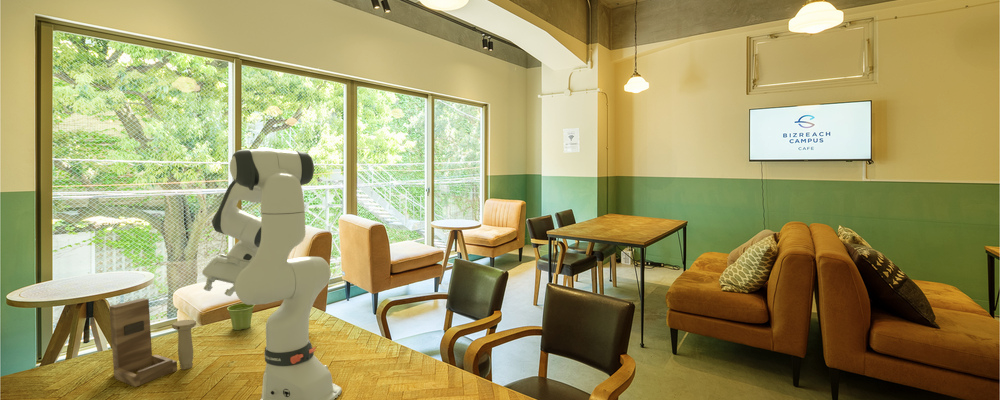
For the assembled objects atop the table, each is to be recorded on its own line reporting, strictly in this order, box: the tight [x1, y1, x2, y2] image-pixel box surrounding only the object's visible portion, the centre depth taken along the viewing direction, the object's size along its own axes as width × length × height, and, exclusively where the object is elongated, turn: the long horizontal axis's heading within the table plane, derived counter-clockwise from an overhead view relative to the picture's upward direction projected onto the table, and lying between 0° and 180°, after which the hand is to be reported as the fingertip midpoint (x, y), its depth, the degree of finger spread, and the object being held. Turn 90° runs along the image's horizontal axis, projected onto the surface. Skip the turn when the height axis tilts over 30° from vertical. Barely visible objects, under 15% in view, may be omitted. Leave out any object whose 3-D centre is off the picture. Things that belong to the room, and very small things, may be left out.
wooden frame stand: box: [108, 297, 178, 388], centre depth 135 cm, size 14×11×22 cm
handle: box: [171, 319, 197, 370], centre depth 139 cm, size 5×6×15 cm
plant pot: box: [226, 302, 255, 331], centre depth 173 cm, size 9×9×9 cm
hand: (216, 292), depth 148 cm, fingers open, 8 cm apart
